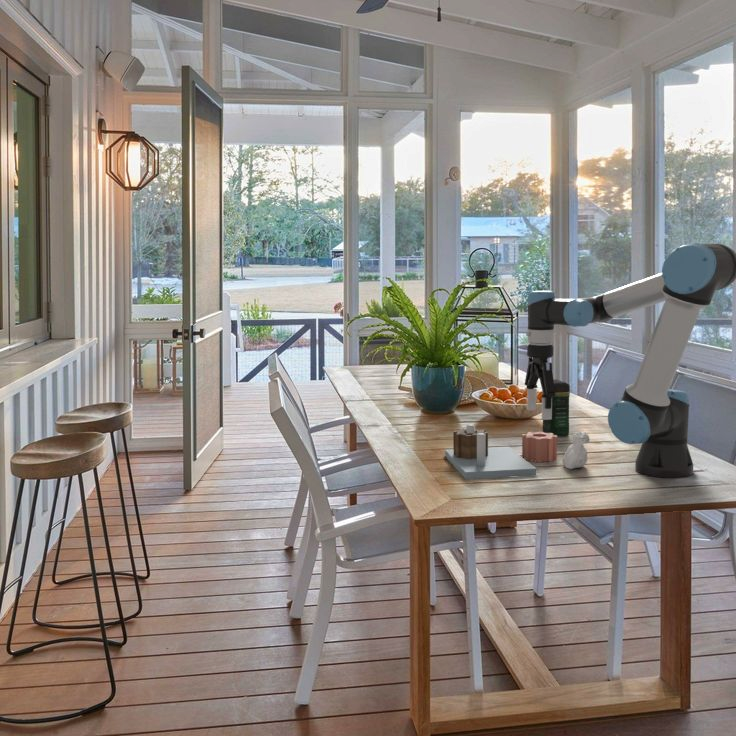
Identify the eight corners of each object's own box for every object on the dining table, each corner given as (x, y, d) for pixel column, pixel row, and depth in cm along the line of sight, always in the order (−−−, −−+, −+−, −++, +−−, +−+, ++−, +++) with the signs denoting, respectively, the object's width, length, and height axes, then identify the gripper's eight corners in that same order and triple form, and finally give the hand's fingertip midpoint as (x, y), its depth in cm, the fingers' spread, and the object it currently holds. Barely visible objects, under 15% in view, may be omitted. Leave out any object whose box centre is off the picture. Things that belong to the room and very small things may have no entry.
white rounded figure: (577, 479, 221) (603, 449, 219) (555, 463, 222) (581, 432, 219) (574, 468, 233) (599, 439, 230) (553, 452, 233) (578, 423, 231)
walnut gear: (491, 458, 230) (491, 434, 229) (458, 460, 229) (458, 436, 228) (482, 450, 239) (482, 427, 238) (450, 451, 238) (450, 429, 237)
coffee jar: (572, 436, 264) (573, 381, 261) (549, 437, 263) (550, 382, 260) (561, 430, 273) (562, 377, 271) (539, 431, 272) (539, 378, 270)
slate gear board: (536, 475, 218) (536, 436, 217) (465, 479, 216) (465, 439, 214) (508, 452, 244) (508, 417, 242) (445, 456, 242) (444, 420, 240)
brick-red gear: (560, 461, 232) (561, 438, 232) (528, 463, 231) (528, 439, 230) (549, 453, 242) (549, 431, 241) (518, 455, 241) (518, 432, 240)
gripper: (515, 339, 244) (514, 406, 247) (542, 349, 219) (540, 424, 222) (538, 338, 245) (537, 406, 248) (568, 348, 220) (566, 423, 223)
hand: (538, 414), depth 235 cm, fingers open, 13 cm apart
